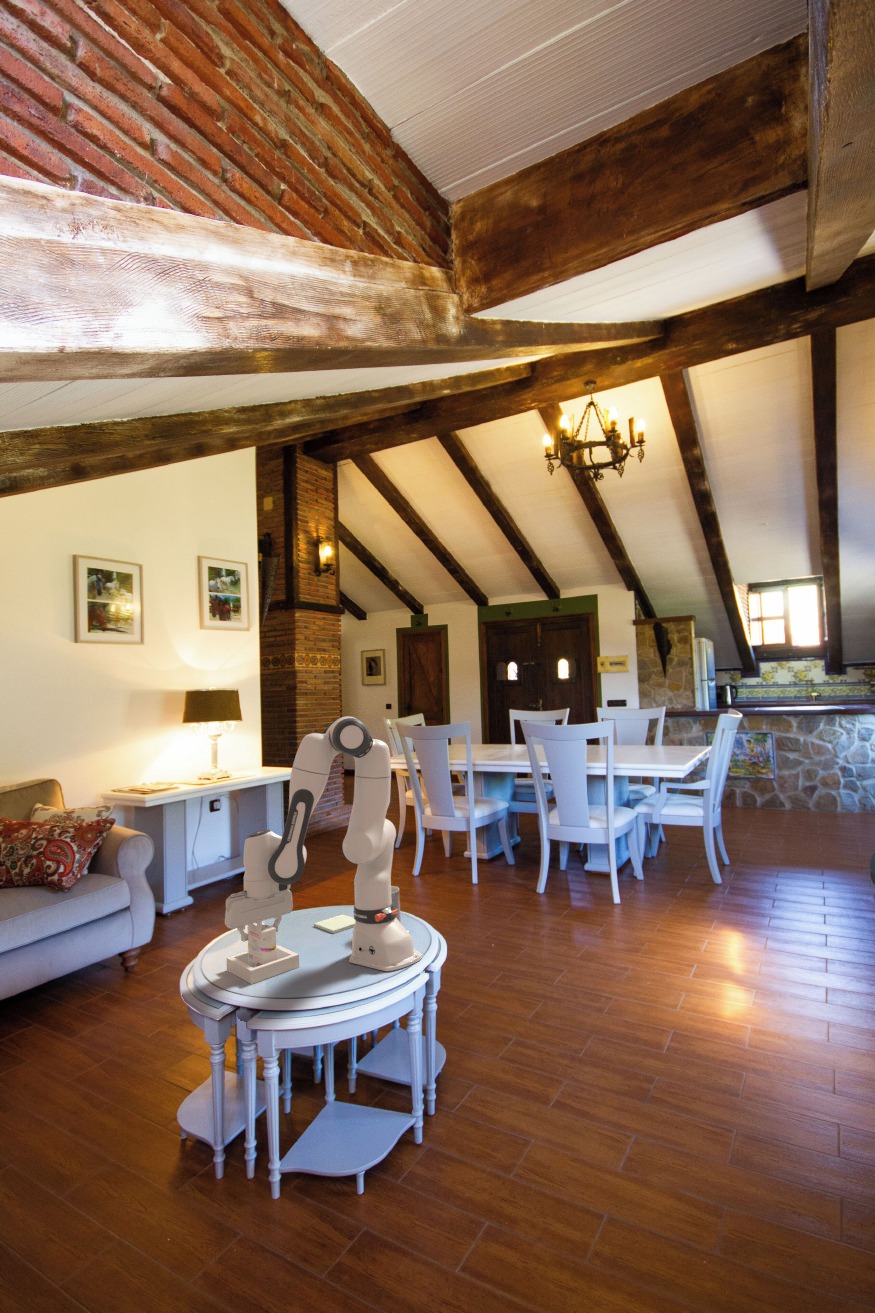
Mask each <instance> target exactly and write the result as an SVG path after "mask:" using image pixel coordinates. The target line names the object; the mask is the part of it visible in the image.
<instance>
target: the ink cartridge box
mask: <svg viewBox="0 0 875 1313" xmlns="http://www.w3.org/2000/svg"><path fill="white" fill-rule="evenodd" d="M247 934H249V937H248V938H249V940H247V951H248V958H249V966H251V967H253V968H255V967H257V966H260V965H263V964H266V963H269V962H272V961H275V960H277V950H276V944H277V932H276V928H274V927H272V926H271V925H269V924H267V923H264V922H262V921H260V920H257V922H256V923H253V924H249V925H247Z"/></svg>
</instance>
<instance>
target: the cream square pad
mask: <svg viewBox="0 0 875 1313" xmlns="http://www.w3.org/2000/svg"><path fill="white" fill-rule="evenodd" d="M354 926H355V919H354V917H353V916H349V915H346V914H343V913H342V914H340V915H337V916H333V917H330V918H326V919H323V920H321V921H317V922H314V923H313V927H314V928H318V929H321V930H323V931H325V932H328V933H331V934H333V935H335V934H337V933H340V932H344V931H346V930H349V929H352V928H353V929H354Z"/></svg>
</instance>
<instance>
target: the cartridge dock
mask: <svg viewBox="0 0 875 1313" xmlns="http://www.w3.org/2000/svg"><path fill="white" fill-rule="evenodd" d="M276 950H277V960H275V961H272V962H269V963H266V964H263V965H260V966H257V967H255V968H253V967H251V966H249V958H248V950H247V951H243V952H240V953H237V954H234V955H231V956H228V957H226V959H225V960H226V971H228V972H229V973H231V974H233V975H234V976H236V977H237V978H240V979H242V980H243V981H245V982H247V983H249V984H251V985H254V984H256V983H258V982H261V981H264V980H267V979H270V978H272V977H275V976H278V975H281V974H283V973H286V972H290V971H292V970H295V969H297V968H300V954H299V953H297V952H294V951H292V950H289V949H288V948H285V947H283V946H281V945H278V944H277V943H276Z"/></svg>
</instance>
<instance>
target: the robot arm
mask: <svg viewBox="0 0 875 1313" xmlns="http://www.w3.org/2000/svg"><path fill="white" fill-rule="evenodd" d="M339 754H345V755H347V756H351V757H353V759H354V765H355V769H354V787H353V790H354V791H353V801H352V802H353V803H352V807H351V808H352V809H351V813H350V816H349V821H348V822H349V823H348V827H347V831H346V834H345V836H344V839H343V841H342V852H343V855H344V856H345V858H346V859H347V860H348V861H349V862H351V863H353V864H356V865H357V868H356V873H355V876H354V879H353V880H354V881H353V885H354V886H353V887H354V891H353V892H354V906H353V918H354V919H355V926H354V927H353V930H352V936H351V937H352V938H351V939H352V940H351V943H352V944H351V954H350V956H349V957H348V962H349V963H351V964H354V965H359V966H362V967H366V968H371V969H374V970H379V971H383V972H392V971H397V970H401V969H403V968H406V967H408V966H412V965H414V964H415V963H418V961H420V960H422V958H423V954H422V952H420V951H419V950H417V949H415V948H414V942H413V938H412V935H411V933H410V931H409V929H406V928H405V926H404V925H403V924H402V922H401V923H400V922H399V921H398V919H397V918H396V913H398V912H395V911H397V910H398V909H396V910H395V908H394V905H393V903H392V898H391V886H392V879H391V878H392V867H393V858H394V849H395V848H394V846H395V840H396V838H397V829H396V826H395V825H394V823H393V822H392V821H391V820H389V819H388V818H386V815H387V811H388V808H389V806H390V803H391V789H392V788H391V787H392V786H391V784H392V783H391V782H392V764H391V763H392V762H391V761H392V760H391V753H390V748H389V746H388V744H387V743H386V742H385V741H383V740H381V739H376V738H373V737H372V736H371V734H370V732H369V730H368V728H367V726H366V725H365V723H363V721H361V720H360V719H358V718H356V717H354V716H349V715H348V716H341V717H337V718H336V719H334V720H333V721H332V722H331V723H330V724H329V725H328V727H327V728H326V729H325V730H324V731H323V732H322V733H318V732H312V733H309V734H306V735H305V736H304V737H302V740H301V742H300V744H299V746H298V748H297V751H296V754H295V758H294V760H293V762H292V763H293V764H292V768H291V771H290V772H291V773H290V779H289V794H288V796H289V799H288V803H289V804H288V811H287V813H288V814H287V816H286V821H285V823H284V828H283V832H282V835H279V834H277V833H275V832H273V830H271V829H262V830H258V831H255V832H252V833H251V834H249V835H247V837H246V838H245V840H244V845H243V867H244V875H243V890H242V891H239V892H236V893H231V894H230V896H228V897H227V898H226V899H225V913H224V925H225V926H226V927H227V928H228V929H231V930H234V929H237V931H238V932H239V934H240V940H241V942H248V940H249V938H248V937H249V934H248V932H245V931H244V930H246V926H248V925H249V924H257V923H256V922H257V920H260V921H267V920H271V919H274V922H273V924H271V925H270V926H272V927H274V928H276V933H278V931H279V926H280V923H281V921H282V918H283V917H282V916H284V915H288V914H291V912H292V911H293V909H294V904H293V903H294V902H293V901H294V900H293V893H292V891H291V890H290V889H291V885H293V884H294V883H297V882H298V881H299V880H300V879H301V878H302V876H303V875H304V873H305V869H306V868H305V867H306V866H305V865H306V861H307V857H308V852H307V848H306V846H305V845H304V843H305V839H306V835H307V831H308V827H309V822H310V820H311V817H312V814H313V812H314V810H315V807H316V806H317V805H318V802H319V800H320V799H321V797H322V795H323V793H324V792H325V788H326V785H327V783H328V779H329V776H330V772H331V767H332V764H333V761H334V759H335V757H337V755H339Z"/></svg>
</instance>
